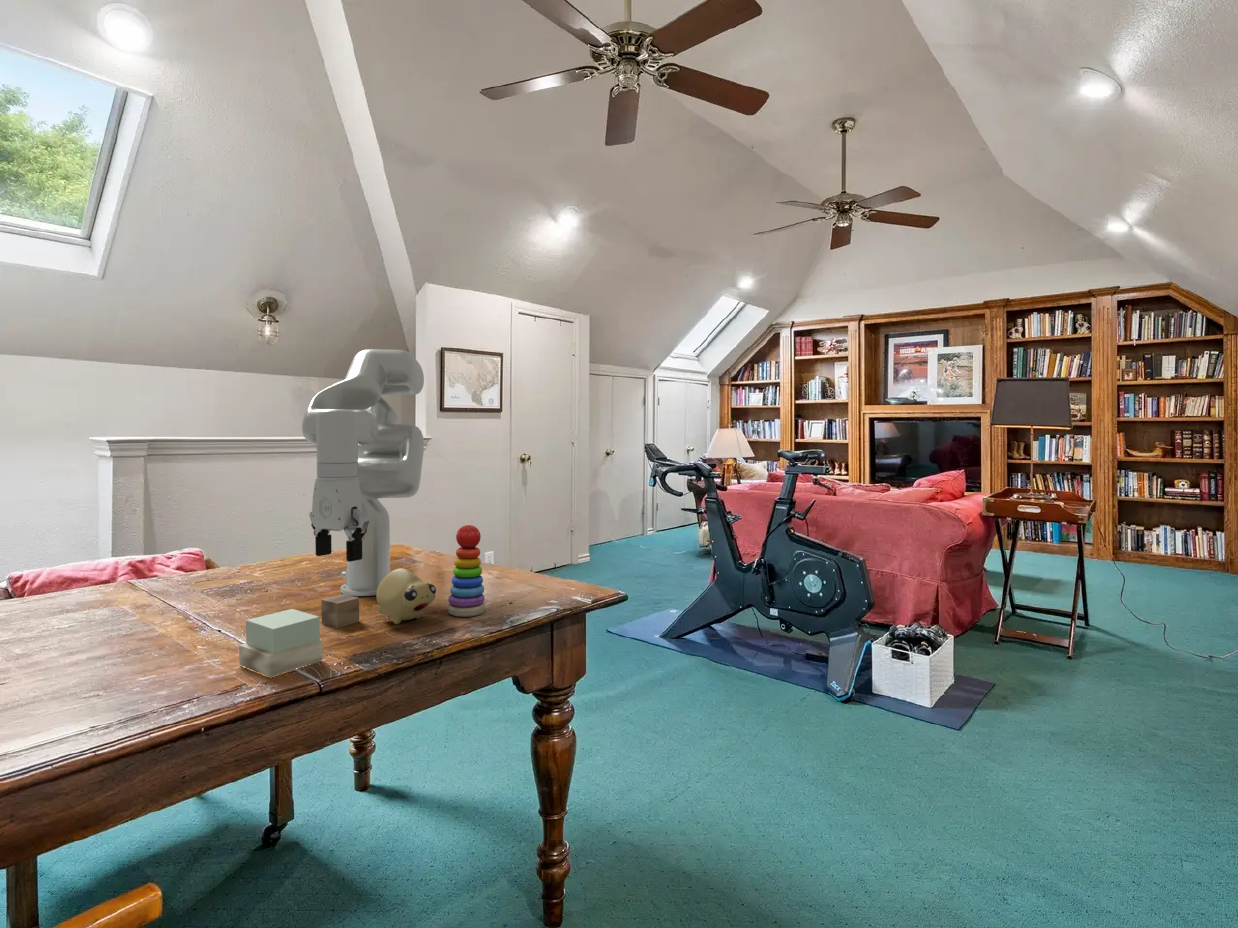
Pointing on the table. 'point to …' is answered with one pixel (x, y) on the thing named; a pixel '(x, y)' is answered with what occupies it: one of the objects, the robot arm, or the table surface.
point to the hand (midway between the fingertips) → (338, 557)
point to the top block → (282, 630)
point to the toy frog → (403, 595)
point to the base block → (279, 658)
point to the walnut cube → (340, 610)
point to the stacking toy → (467, 576)
